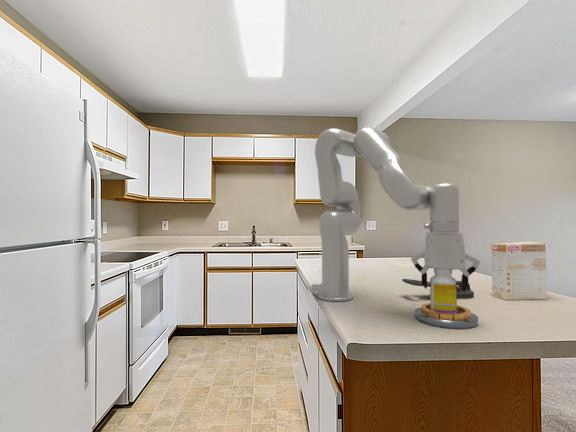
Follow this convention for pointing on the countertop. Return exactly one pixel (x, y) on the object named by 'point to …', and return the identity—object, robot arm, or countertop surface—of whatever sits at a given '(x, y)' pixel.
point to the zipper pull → (459, 292)
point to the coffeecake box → (518, 270)
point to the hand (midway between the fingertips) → (444, 288)
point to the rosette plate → (447, 318)
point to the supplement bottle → (443, 292)
